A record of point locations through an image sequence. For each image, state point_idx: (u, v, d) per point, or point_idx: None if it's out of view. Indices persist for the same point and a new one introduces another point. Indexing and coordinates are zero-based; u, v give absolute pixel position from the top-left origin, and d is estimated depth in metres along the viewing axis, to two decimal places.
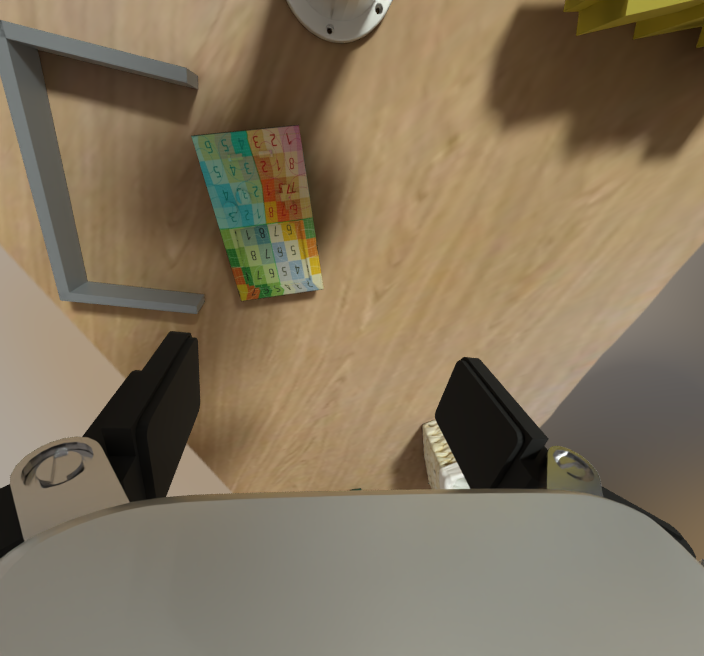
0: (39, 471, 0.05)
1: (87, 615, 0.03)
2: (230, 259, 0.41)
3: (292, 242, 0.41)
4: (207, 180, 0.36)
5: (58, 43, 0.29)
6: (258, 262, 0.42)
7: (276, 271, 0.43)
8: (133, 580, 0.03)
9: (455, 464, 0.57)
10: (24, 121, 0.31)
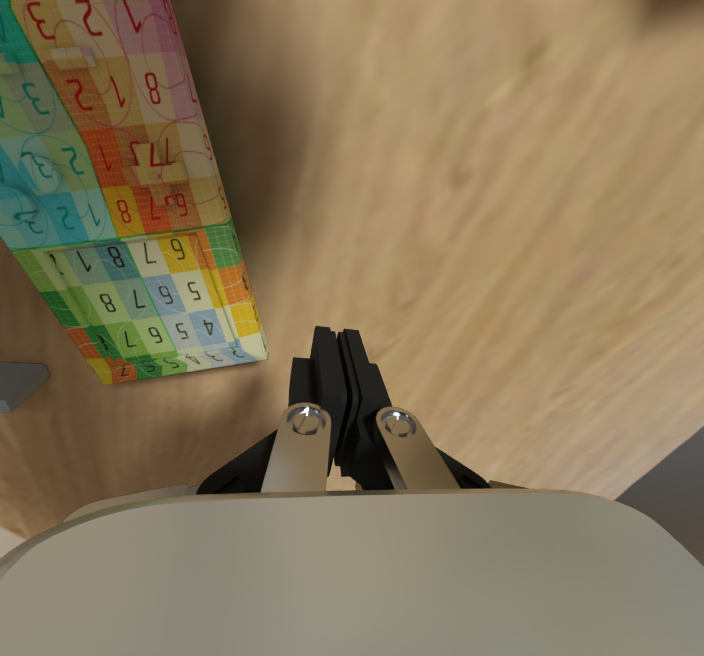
0: (294, 425, 0.07)
1: (87, 615, 0.03)
2: (55, 312, 0.19)
3: (189, 275, 0.19)
4: None
5: None
6: (122, 316, 0.20)
7: (165, 332, 0.21)
8: (133, 580, 0.03)
9: None
10: None
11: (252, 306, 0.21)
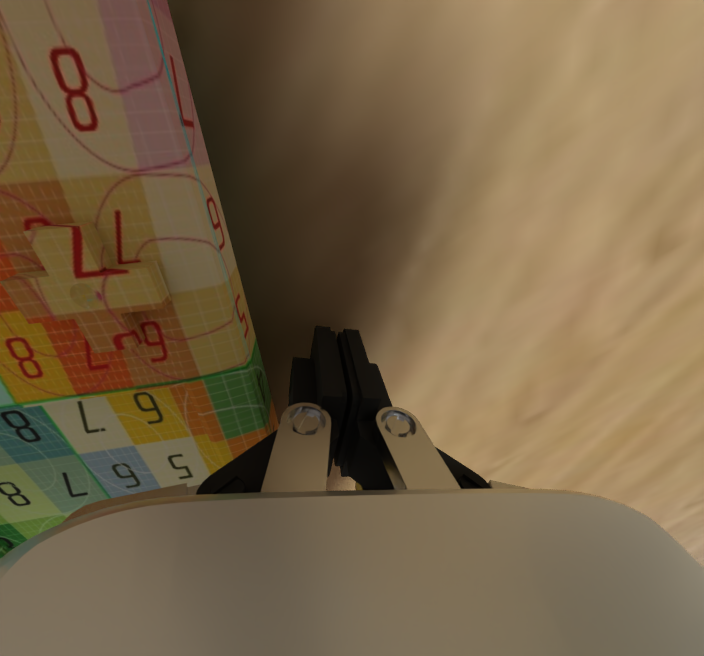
0: (294, 425, 0.07)
1: (87, 615, 0.03)
2: None
3: (171, 445, 0.10)
4: None
5: None
6: (45, 509, 0.11)
7: None
8: (133, 580, 0.03)
9: None
10: None
11: None
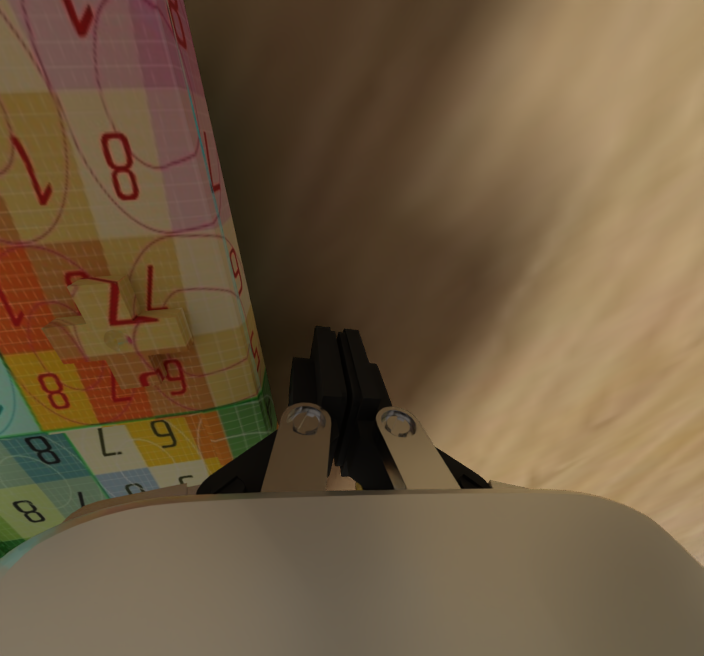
0: (294, 425, 0.07)
1: (87, 615, 0.03)
2: None
3: (182, 467, 0.11)
4: None
5: None
6: None
7: None
8: (133, 580, 0.03)
9: None
10: None
11: None
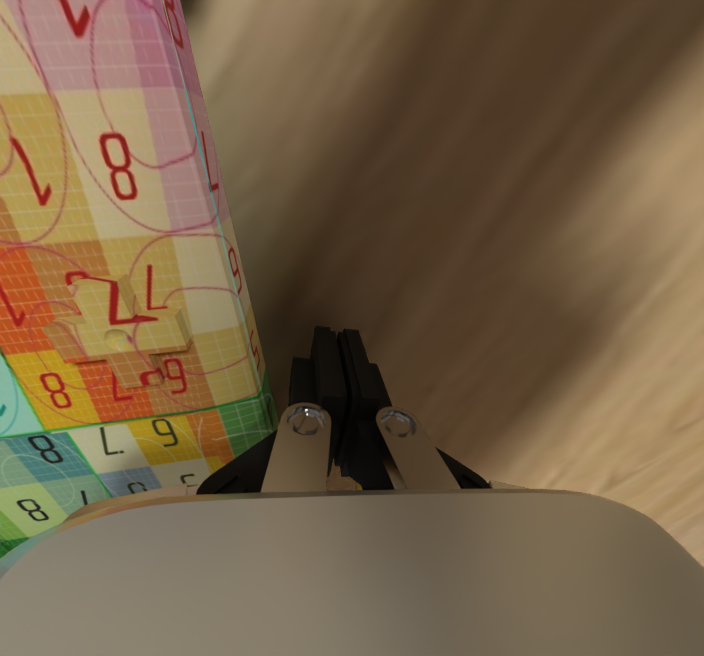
0: (294, 425, 0.07)
1: (87, 615, 0.03)
2: None
3: (184, 465, 0.11)
4: None
5: None
6: None
7: None
8: (133, 580, 0.03)
9: None
10: None
11: None
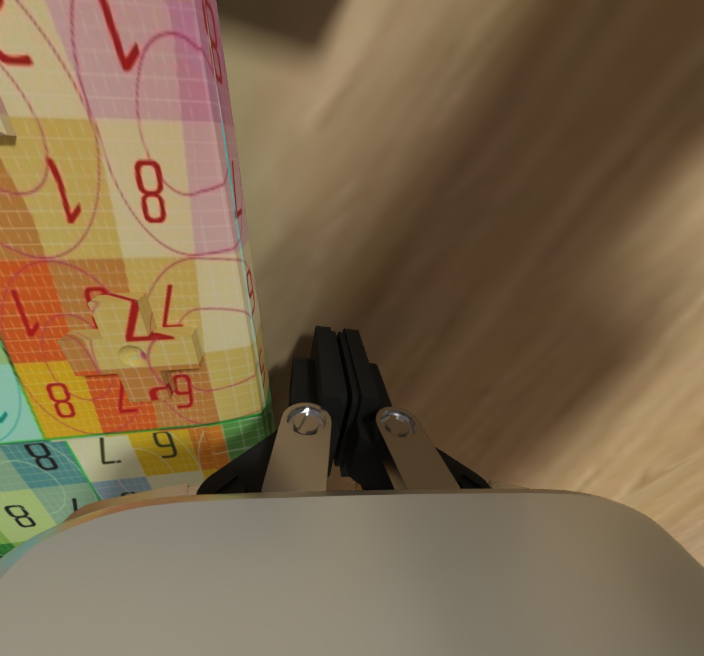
0: (294, 425, 0.07)
1: (87, 615, 0.03)
2: None
3: (180, 477, 0.11)
4: None
5: None
6: None
7: None
8: (133, 580, 0.03)
9: None
10: None
11: None
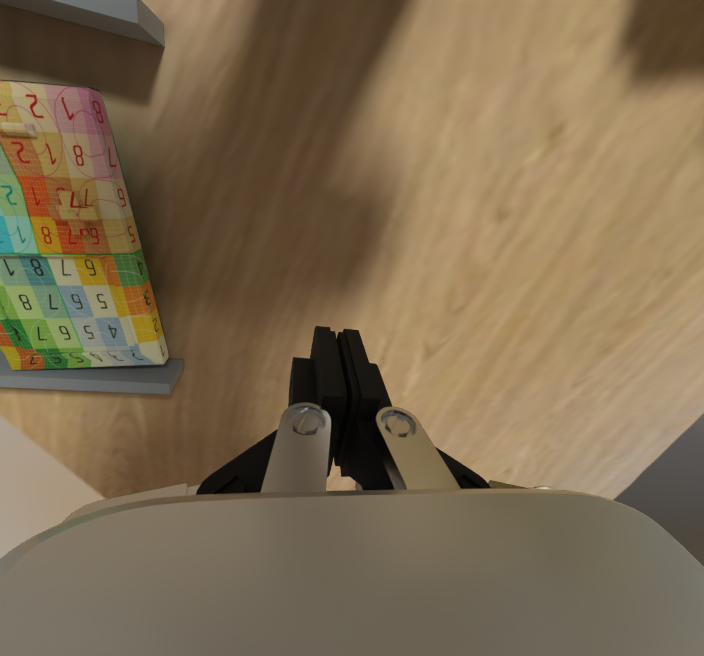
0: (294, 425, 0.07)
1: (88, 614, 0.03)
2: None
3: (98, 288, 0.24)
4: None
5: None
6: (37, 314, 0.24)
7: (74, 331, 0.25)
8: (133, 579, 0.03)
9: None
10: None
11: (152, 319, 0.26)
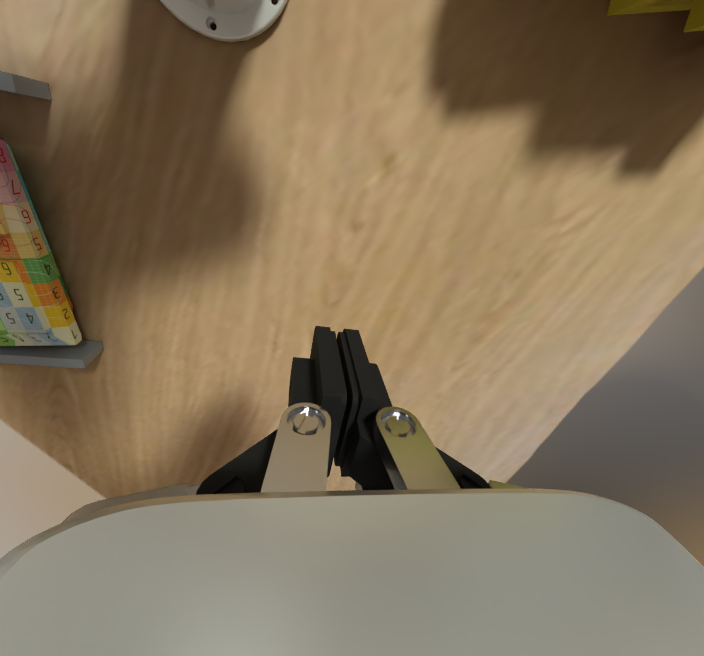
0: (294, 425, 0.07)
1: (87, 615, 0.03)
2: None
3: (14, 284, 0.31)
4: None
5: None
6: None
7: None
8: (133, 580, 0.03)
9: None
10: None
11: (62, 309, 0.33)
